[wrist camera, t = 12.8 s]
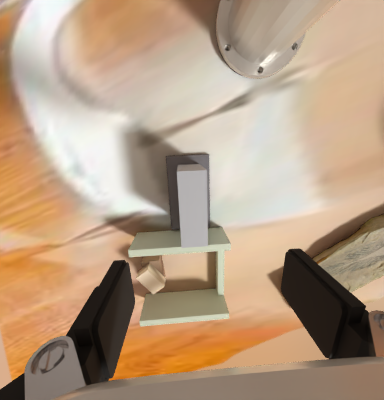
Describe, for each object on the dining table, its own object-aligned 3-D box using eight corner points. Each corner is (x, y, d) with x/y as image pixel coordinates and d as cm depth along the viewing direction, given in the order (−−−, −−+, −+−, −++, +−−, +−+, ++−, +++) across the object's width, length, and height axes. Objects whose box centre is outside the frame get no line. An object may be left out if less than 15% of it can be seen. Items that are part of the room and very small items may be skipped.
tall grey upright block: (178, 164, 29) (176, 171, 20) (199, 163, 29) (206, 170, 21) (181, 221, 32) (181, 247, 23) (200, 219, 32) (207, 246, 23)
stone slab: (440, 247, 35) (308, 328, 37) (413, 237, 38) (295, 311, 41) (426, 198, 31) (282, 291, 34) (398, 193, 35) (270, 276, 38)
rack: (137, 232, 33) (128, 250, 27) (222, 227, 33) (230, 243, 28) (146, 298, 37) (140, 326, 31) (221, 292, 38) (228, 318, 32)
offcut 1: (144, 253, 34) (140, 262, 31) (160, 250, 34) (159, 260, 31) (149, 277, 36) (146, 288, 33) (165, 274, 36) (164, 285, 33)
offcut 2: (138, 270, 32) (135, 278, 30) (149, 262, 31) (147, 270, 29) (155, 285, 33) (153, 294, 31) (165, 278, 33) (164, 286, 31)
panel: (166, 156, 29) (166, 156, 29) (208, 154, 30) (209, 154, 29) (172, 228, 33) (171, 229, 32) (209, 225, 33) (209, 227, 33)
